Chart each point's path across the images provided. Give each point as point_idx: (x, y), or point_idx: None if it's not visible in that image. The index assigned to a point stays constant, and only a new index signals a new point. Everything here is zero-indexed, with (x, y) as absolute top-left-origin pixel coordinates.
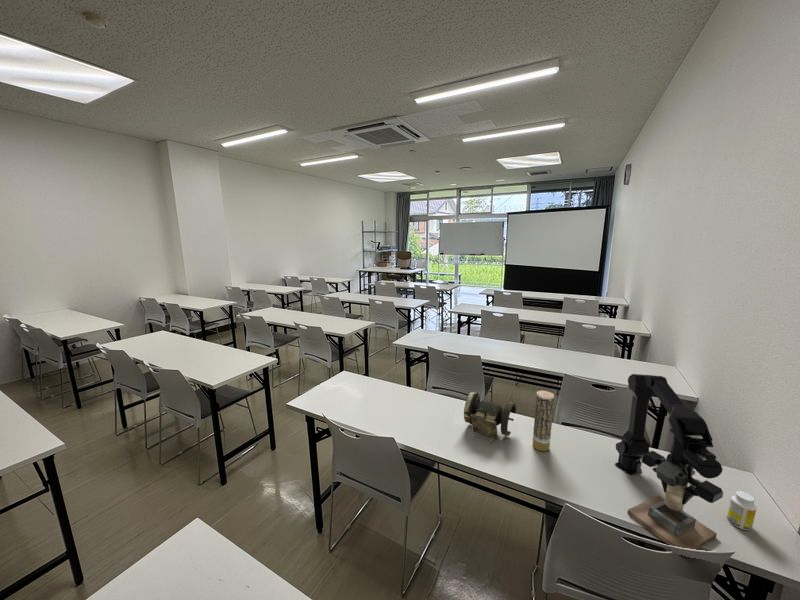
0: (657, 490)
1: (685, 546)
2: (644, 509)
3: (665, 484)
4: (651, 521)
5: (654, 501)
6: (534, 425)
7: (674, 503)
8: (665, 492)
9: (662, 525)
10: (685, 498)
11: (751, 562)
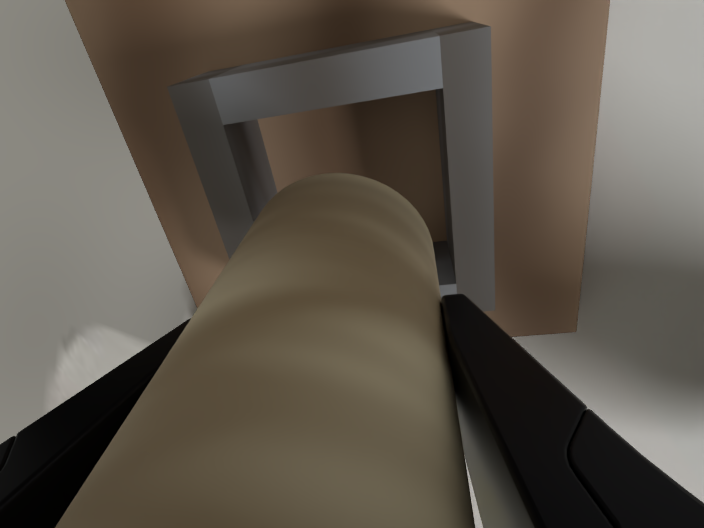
0: (610, 372)
1: (117, 37)
2: (533, 56)
3: (484, 421)
4: None
5: (550, 245)
6: None
7: (255, 235)
8: (443, 299)
9: (332, 48)
10: (75, 409)
11: (87, 344)
